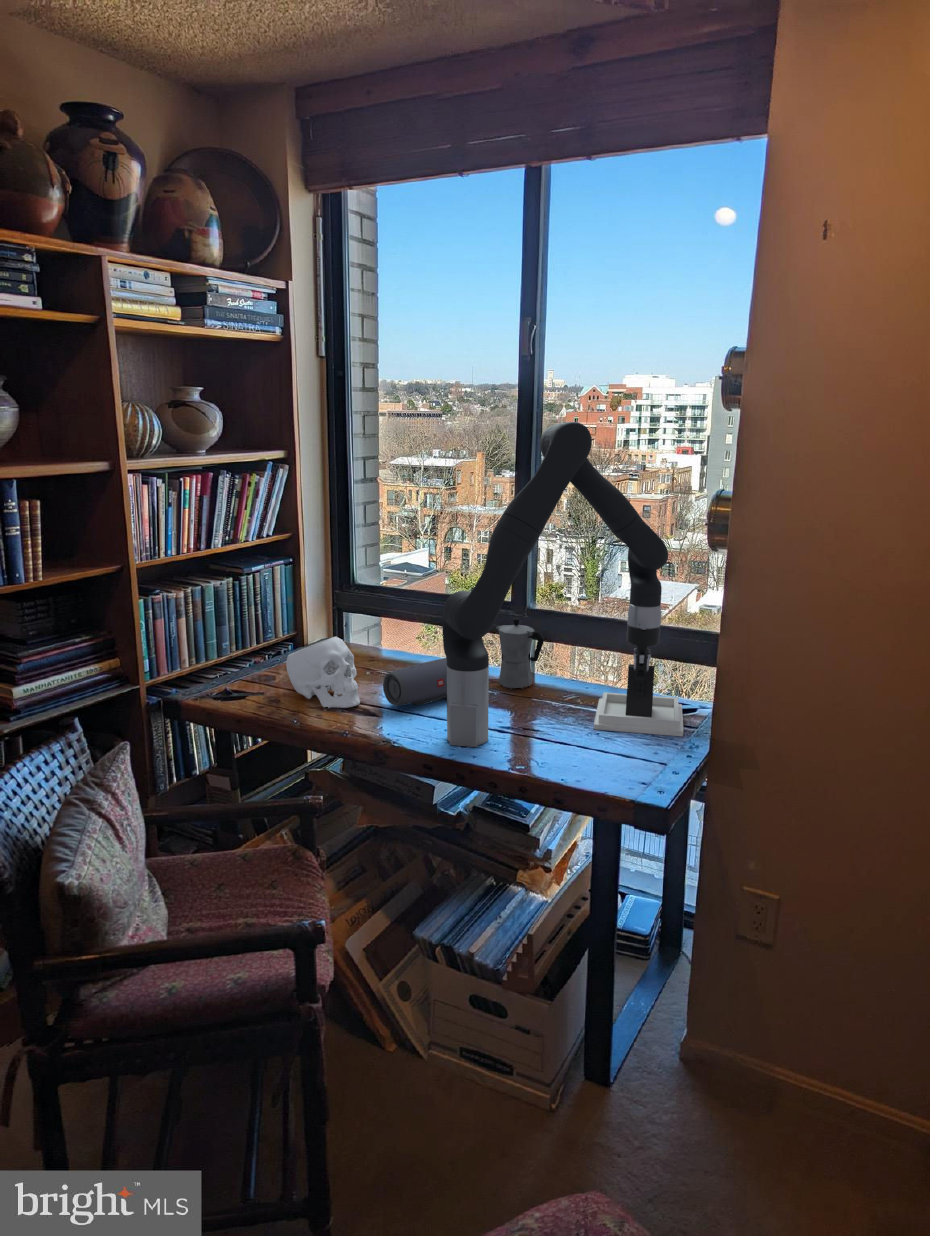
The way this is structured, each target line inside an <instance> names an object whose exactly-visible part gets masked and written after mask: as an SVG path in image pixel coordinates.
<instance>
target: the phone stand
mask: <svg viewBox="0 0 930 1236" xmlns="http://www.w3.org/2000/svg"><path fill="white" fill-rule="evenodd" d="M655 667H656V666H655V665H649V671H648V672H647V673H646V677H647V679H646V681H645V695H644V696H636V695H635V684H636V680H635V673H636V671H634V663H633V664H630V663H629V664H628V668H627V669H628V670H627V686H626V688H627V689H626V694H627V699H626V716H639V717H651V718H652V705H653V696H654V685H655V684H654V683H655V682H654V681H655ZM638 675H644V672H643V671H638Z"/></svg>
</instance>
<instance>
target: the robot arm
mask: <svg viewBox="0 0 930 1236" xmlns="http://www.w3.org/2000/svg"><path fill="white" fill-rule="evenodd" d="M592 441H593V440H592V434H591V432H590V430H589V428H588V427H587V426H586V425H584V424H583V423H581V422H576V421H567V422H559V423H556V424H552V425H550V426H549V427H547V428H546V429H545V430H544V431H543V433H542V434H541V437H540V439H539V449H540V451H541V452H540V453H541V454H542V456H543V459H542V461H541V463H540V466H539V467H538V469H537V471H536V473H534V475H533V476H532V477H531V479H530V480H529V481H528V482H527V484H526V485H525V486H523V488H522V489H521V490H520V491H519V492H518V493H517V494H516V495H515V497H514V498H512V500H511V501H510V502H509V504H508V505H507V507H506V508H505V510H504V511H503V513H502V515H501V517H500V518H499V520H498V521H497V524H496V525H495V526H494V529H493V531H492V534H491V535H490V540H489V543H488V544H489V545H488V548H487V554H486V560H485V564H484V567H483V569H482V572H481V575H480V576H479V579H477V582H476V583H475V584H474V587H473V588H472V590H471V591H467V590H458V591H455V592H454V593H452V594H451V595H450V596H449V597H447V599H446V601H445V603H444V605H443V609H442V614H441V615H442V616H441V618H442V620H441V623H442V624H441V625H442V646H443V651H444V654H445V658H446V660H447V697H446V739H447V741H448V742H449V745H450V746H456V747H457V746H459V747H469V748H470V747H471V748H477V747H478V746H481V745H482V744H485V743H487V742H488V741H489V699H490V698H489V696H490V695H489V685H490V684H489V678H490V677H489V675H490V670H489V669H490V668H489V667H490V665H489V663H490V657H489V653H488V651H487V649H486V646H485V644H484V640H483V637H485V636H487V634H488V633H489V632H490V631H491V629H492V628H493V626H494V624H495V622H496V620H497V618H498V615H499V613H500V611H501V609H502V607H503V604H504V601H505V600H506V597H507V595H508V592H509V591H510V589H511V587H512V585H513V583H514V581H515V580H516V578H517V576H518V575H519V573H520V571H521V569H522V567H523V565H524V564H525V562H526V560H527V558H528V556H529V555H530V553H531V552H532V550H533V549H534V547H535V545H536V544H537V542H538V541H539V538H540V537H541V535H542V533H543V531H544V529H545V528H546V525H547V523H548V521H549V520H550V518H551V516H552V514H553V512H554V511H555V509H556V507H557V504H558V503H559V501H560V498H561V497H562V496H563V493H564V491H566V488H567V487H568V486H569V484H570V483H571V485H573V487H574V488H575V489H576V490H577V491H578V492H579V493H580V494H581V496H582V497H584V499H585V500H586V501H587V502H588V503H589V505H590V506H591V507H592V508H593V509H594V511H595V512H596V513H597V515H598V516H599V517H600V519H601V520H602V521H603V522H604V523H605V525H606V527H608V529H609V530H610V531H611V533H612V534H613V535H614V536H615V537H616V538H617V539H618V540H620V541H621V542H622V543H624V545H625V546H626V547H627V548H628V550H627V552H628V553H627V565H628V576H629V579H630V591H629V605H628V606H629V607H628V609H627V610H628V611H627V625H626V628H627V629H626V642H627V643H628V644H630V645H632V646H636V647H637V648H633V656H632V657H633V660H634V661H633V665H634V671H636V673H635V680H636V684H635V695H636V696H644V695H645V681H646V679H647V677H646V673H647V672H648V671H649V666H650V661H651V657H652V649H649V647H655V646H657V645H659V643H660V641H661V640H660V637H661V626H662V625H661V624H662V623H661V622H662V608H661V606H662V590H663V588H662V582H661V581H660V579H659V578H658V573H657V572H658V571H657V570H660V569H662V568H663V567H664V566H665V565H666V563H667V562H668V559H669V550H668V548H667V545H666V544H665V542H664V541H663V540H662V538H661V537H660V536H659V535H658V534H657V533H656V532H655V531H654V530H653V529H652V528H651V527H650V526H649V525H648V524H647V523H646V522H645V521H644V520H643V518H642V517H641V516H640V514H639V512H638V511H637V510H636V509H635V507H634V506H633V505H632V503H631V502H630V500H629V499H628V498H627V497H626V496H625V495H624V494H623V493H622V492H621V490H619V489H618V488H617V487H616V486H615V485H614V484H613V483H611V482H610V481H609V480H608V479H607V478H606V477H604V476H603V474H601V472H600V471H599V470H597V469H596V467H594V465H593V464H592V462H591V461H590V459H588V457H589V454H590V453H591V450H592V445H593V444H592V443H593V442H592ZM638 671H643V672H644V675H638Z"/></svg>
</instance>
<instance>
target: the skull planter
mask: <svg viewBox="0 0 930 1236" xmlns="http://www.w3.org/2000/svg"><path fill="white" fill-rule="evenodd" d="M286 672H287V675H288V678H289V680H290V682H291V685H292V687H293V688H294V690H295V691H296V692H297V694H299V695H302V696H304V698H306V699H308V700H311V698H312V697H313V696H316V698H318V700H319V702H320V705H321V706H322V707H323V708H325V707H328V708H327V709H330V708H341V709H347V708H353V707H356V706H358V705H360V704H361V698H360V697H359V692H358V691H359V685H358V682H357V681H356V680H355V678H356V677H357V669H356V666H355V656H354V654H353V653H352V652H351V649H350V648H349V647H348V646H347V644H346V643H345V642H344V640H342V639H341V638H339V637H338V636H333V637H330V638H328V639H325V640H322V641H320V642H319V641H318V642H317V643H314V644H312V645H309V646H307V647H304V648H302V649H299V650H297V651H293V652H292V653H290V654H288V655H287V658H286ZM328 691H329V692H330V691H332V692H333V695H331V694H330V693H329V692H328Z"/></svg>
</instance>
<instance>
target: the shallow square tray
mask: <svg viewBox="0 0 930 1236" xmlns="http://www.w3.org/2000/svg"><path fill="white" fill-rule="evenodd" d="M626 699H627V693H618V692H615V693H614V692H605V691H604V692H603V693H602V697H600V698H599V699H598V704H597V706H596V707H597V708H596V712H595V716H594V721H593V722H594V723H593V730H597V731H611V732H623V733H634V734H635V733H636V734H646V735H648V734H649V735H661V736H671V737H673V736H674V737H684V720H683V704H681V703H679V697H673V696H672V697H671V696H658V695H653V705H652V718H651V717H639V716H626Z"/></svg>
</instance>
